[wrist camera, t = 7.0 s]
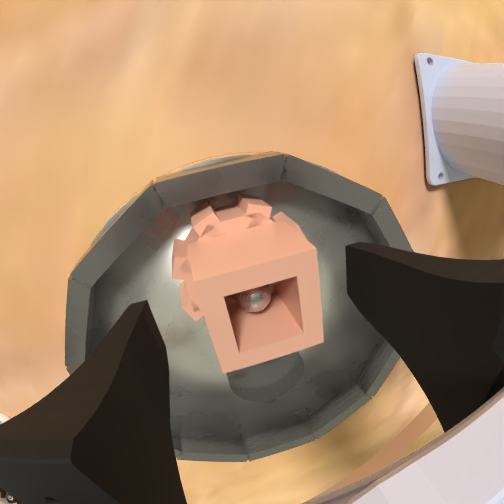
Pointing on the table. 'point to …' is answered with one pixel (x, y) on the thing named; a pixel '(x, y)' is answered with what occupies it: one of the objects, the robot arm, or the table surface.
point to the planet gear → (249, 281)
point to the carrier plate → (197, 334)
